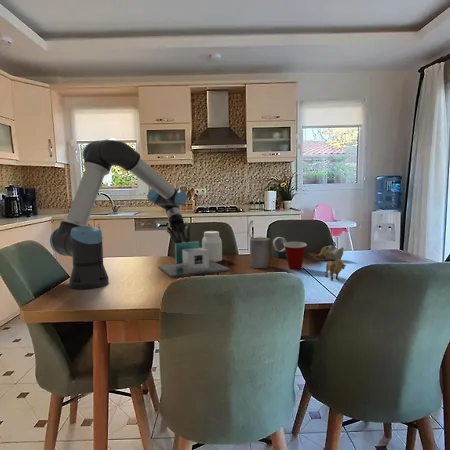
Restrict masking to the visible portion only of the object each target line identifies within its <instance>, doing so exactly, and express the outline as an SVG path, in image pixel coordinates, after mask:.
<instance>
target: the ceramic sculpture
mask: <svg viewBox="0 0 450 450" xmlns="http://www.w3.org/2000/svg"><path fill="white" fill-rule="evenodd" d="M343 255H344V247H340V248H339V247H338V248H336V247H335V245H333V244H332V243H331V244H330V243H329V244H328V246H327V245H326V246H323V247H322V248H321V249H320V252H319V253H318V254H316V255H312V257H313V258H315V259H318V260H326V261H332V260H334V261H335V260H338V259H339V260H342V257H343Z"/></svg>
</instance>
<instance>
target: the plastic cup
mask: <svg viewBox="0 0 450 450" xmlns="http://www.w3.org/2000/svg"><path fill="white" fill-rule="evenodd" d="M307 246H308V245H307V242H304V241H303V242H302V241H288V242H287V243H284V245H283V248H284V247H285V250H284V251H285V252H286V260H287V264H288V269H289V270H292V269H293V270H294V271H296V270H302V268H303V262H304V257H305V256H304V255H305V252H306V248H307Z"/></svg>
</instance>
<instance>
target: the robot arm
mask: <svg viewBox="0 0 450 450" xmlns="http://www.w3.org/2000/svg"><path fill="white" fill-rule="evenodd" d="M82 151H83V152H82V158H83V167H84V171H83V174H82V177H81V179H80V181H79V185H78V187H77V190H76V193H75V195H74V198H73V201H72V203H71V206H70V209H69V211H68V214H67V216H66V218H64V219H63V220H61V221H60V224H59V227H57V228H56V229H55V230H53V231H52V232H51V234H50V236H49V244H50V247H51V249H52V250H53V251H54V252H55V253H57V254H58V255H61V256H63V257H72V270H71V273H70V276H69V281H68V285H69V286H68V287H69V288H71V289H74V290H91V289H96V288H101V287H104V286H106V285H108V284H109V283H110V281H109V280H110V279H109V275H108V272H107V270H106V268H105V264H104V251H103V249H104V248H103V239H104V238H103V233H102V230H101V229H100V228H98V227H96V226H89V225H88V222H89V219H90V216H91V214H92V211H93V208H94V207H95V202H96V200H97V196H98V194H99V191H100V189H101V186H102V184H103V180H104V177H105V176H107V175H109V174H110V171H111V169H112V167H114V166H115V167H119V168H121V169H123V170H124V171H126V172H130V173H132V174H133V175H134V176H135V177H137V178H138V179H140V180H141V181H142V182H143V183H145V184H146V185H147V186H149V188H150V189H149V191H148V192H147V195H146V196H147V200H148V201H149V202H150V203H152V204H154V205H156V206H158V207H160V208H162V209H163V210H165V212H166V216H167V219H168V223H169V227H168V226H167V228H166V232H167V233H168V234H169V235H170V238H171V240H173V242H174V244H175V243H184V242H191V241H190V240H191V237H190V233H191V232H190V229H191V226H190V225H186V223H185V221H184V218H183V215H182V211H181V209H180V206H185V204H187V201H188V195H187V192H186V191H184V190H181V189H180V190H179V189H177V188H176V187H175V186H173V184H171V183H170V182H169V181H167V179H165V178H164V177H163V176H162V175H161V174H159V173H158V172H157V170H155V169H154V168H153V167H151V166H150V165H149V164H148V163H146V161H145V160H143V159H142V158H141V154H140V153H139V152H137V150H136V149H134V148H133V147H132V146H130V145H128V144H127V143H125V142H124V141H121V140H119V139H117V138H108V139H102V140H94V141H92V142H89V143H88V144H86V145H85V146H84V149H83V150H82ZM185 231H186V234H185Z"/></svg>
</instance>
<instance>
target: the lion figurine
mask: <svg viewBox="0 0 450 450" xmlns="http://www.w3.org/2000/svg"><path fill="white" fill-rule="evenodd" d="M346 267H347V265H346V264H345V263H344V262H343V261H342V259H341V260H339V259H338V260H335V259H334V260H333V261H332V260H327V262H326V267H325V271H324V274H325V276H324V277H325V278H329V275H330V279H329V281H332V282H333V281H334V278H335V280H336V281H339V280H340V278H339V274H340V272H341V271H342V270H345V269H346ZM328 272H329V275H328ZM334 275H335V277H334Z"/></svg>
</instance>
